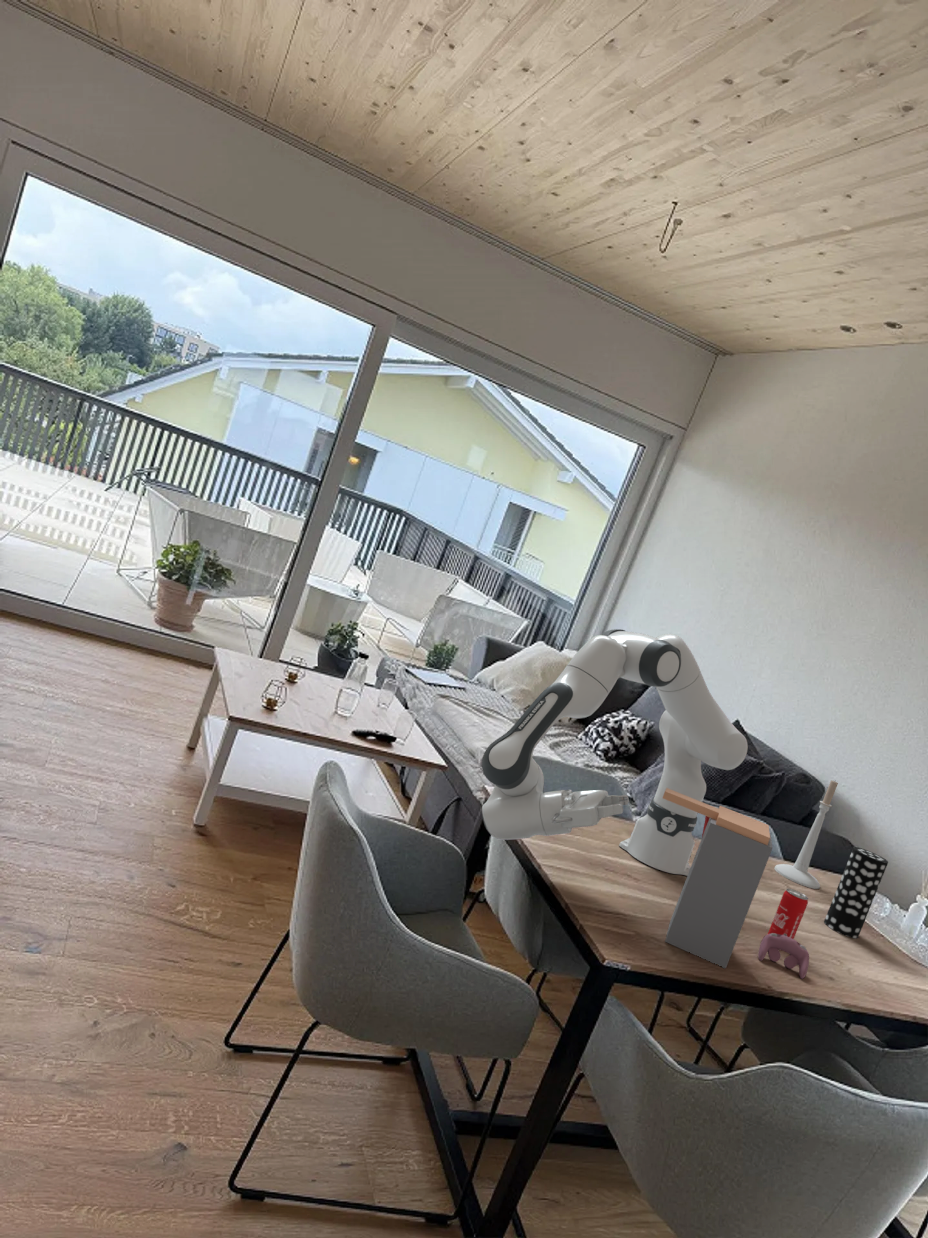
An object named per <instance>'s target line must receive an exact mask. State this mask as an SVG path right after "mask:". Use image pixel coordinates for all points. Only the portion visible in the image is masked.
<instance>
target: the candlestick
mask: <svg viewBox="0 0 928 1238" xmlns="http://www.w3.org/2000/svg"><path fill="white" fill-rule="evenodd" d="M838 784H839V783H838V781H836V780H830V782H829V785H828V787H827V789H826V793H825V795H824V797H823V800H819V803H820V804H819V812H818V813H817V814H816V817H815V820H814V822H813V823H812V826H811V827H810V830H809V833H808V835H807V837H806V839H805V841H804V843H803V846H802V848H801V850H800V852H799V854H798V856H797V858H796V861H795V863H793V865H792V864H787V863H780V864H779V863H778V864H775V866H774V871H776V873H777V874H779V875H780V876H781V877H783V878H785V879H787V880H789V881H791V882H793V883H795V884H798V885H800V886H802V887H805V888H809V889H814V890H819V889H820V888H821V884H820V882H819V880H818V879H817V878H816V877H815V876H813V875H812V874H811V873H810V872H809V871H808V869H809V866H810V863H811V859H812V857H813V854H814V850H815V848H816V846H817V845H816V844H817V841H818V838H819V835H820V833H821V830H822V826H823V823H824V820H825V818H826V813H827V812H829V810H830V808H832V807H833V805H831V802H832V800H833V798H834V794H835V792H836V789H837V787H838Z"/></svg>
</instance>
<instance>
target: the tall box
mask: <svg viewBox="0 0 928 1238" xmlns="http://www.w3.org/2000/svg"><path fill="white" fill-rule="evenodd" d="M769 833H770V840H769V842H768V845H765V844H763V843H760V842H758V841H755V840H753V839H751V838H748V837H746V836H743V835H741V834H738V833H736V832H733V831H731V830H729V829H726V828H724V827H721V826H719V825H716V820H715V819H712V818H709V821H708V823H707V826H706V829H705V831H704V834H703V833H702V834H703V836H702V835H701V839H700V842H699V845H698V847H697V850H696V851H695V852H696V853H695V855H694V857H693V860H692V864H691V865H690V867H691V868H690V871H689V873H688V876H686V879H685V881H684V885H683V886H682V889H681V892H680V894H679V896H678V899H677V902H676V906H675V907H674V911H673V913H672V915H671V917H670V921H669V924H668V928H667V933H666V936H665V943H668V944H669V945H672V946H674V947H675V948H678V949H680V950H683V951H685V952H687V953H689V952H690V954H691V955H694V956H696V955H697V956H696V957H698V956H699V958H700V957H701V958H700V959H703V960H705V959H706V961H707V962H709V961H710V962H709V963H712V964H714V963H715V964H714V965H716V964H718V965H719V967H720V966H722V967H721V968H723V969H725V968H726V969H727V966H728V964H729V961H730V959H731V956H732V953H733V951H734V948H735V945H736V943H737V940H738V938H739V936H740V932H742V931H741V930H742V928H743V925H744V923H745V921H746V917H747V915H748V912H749V909H750V907H751V905H752V902H753V900H754V897H755V894H756V892H757V889H758V887H759V884H760V882H761V879H762V876H763V874H764V871H765V869H766V866H767V863H768V861H769V858H770V856H771V854H772V852H773V847H774V846H773V842H772V834H771V832H769ZM718 965H717V966H718Z"/></svg>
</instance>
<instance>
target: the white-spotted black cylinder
mask: <svg viewBox="0 0 928 1238" xmlns="http://www.w3.org/2000/svg"><path fill="white" fill-rule="evenodd" d="M888 864H889V861H888V860H887V859H886V858H884V857H882V856H881V855H879V854H876V853H875V852H873V851H869V850H867V849H865V848H861V847H859V846H853V848H852V850H851V853H850V855H849V858H848V860H847V863H846V866H845V868H844V871H843V872H842V876H841V878H840V880H839V883H838V885H837V888H836V890H835V893H834V895H833V898H832V901H831V904H830V906H829V908H828V911H827V913H826V916H825V918H824V921H823V923H824V924H825V925H826V926H827V927H828V928H830V929H831V930H832V931H835V932H836V933H839V934H841V935H843V936H846V937H849V938H851V939H852V938H853V939H858V938H859V937H860V934H861V931H862V929H863V927H864V925H865V921H866V919H867V918H868V914H869V912H870V909H871V907H872V905H873V901H874V899H875V896H876V894H877V892H878V889H879V886H880V884H881V882H882V880H883V876H884V874H885V871H886V869H887V866H888Z"/></svg>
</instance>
